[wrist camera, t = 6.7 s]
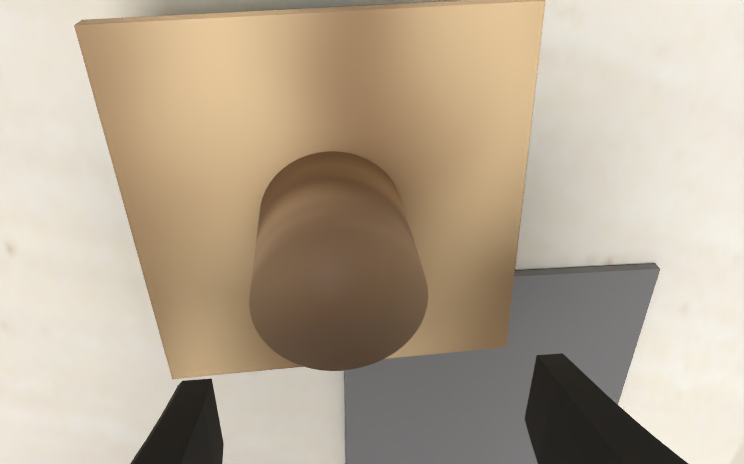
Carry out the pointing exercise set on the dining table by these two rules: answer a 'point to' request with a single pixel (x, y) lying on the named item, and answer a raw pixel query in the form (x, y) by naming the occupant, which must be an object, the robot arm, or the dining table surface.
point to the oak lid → (321, 176)
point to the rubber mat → (498, 372)
